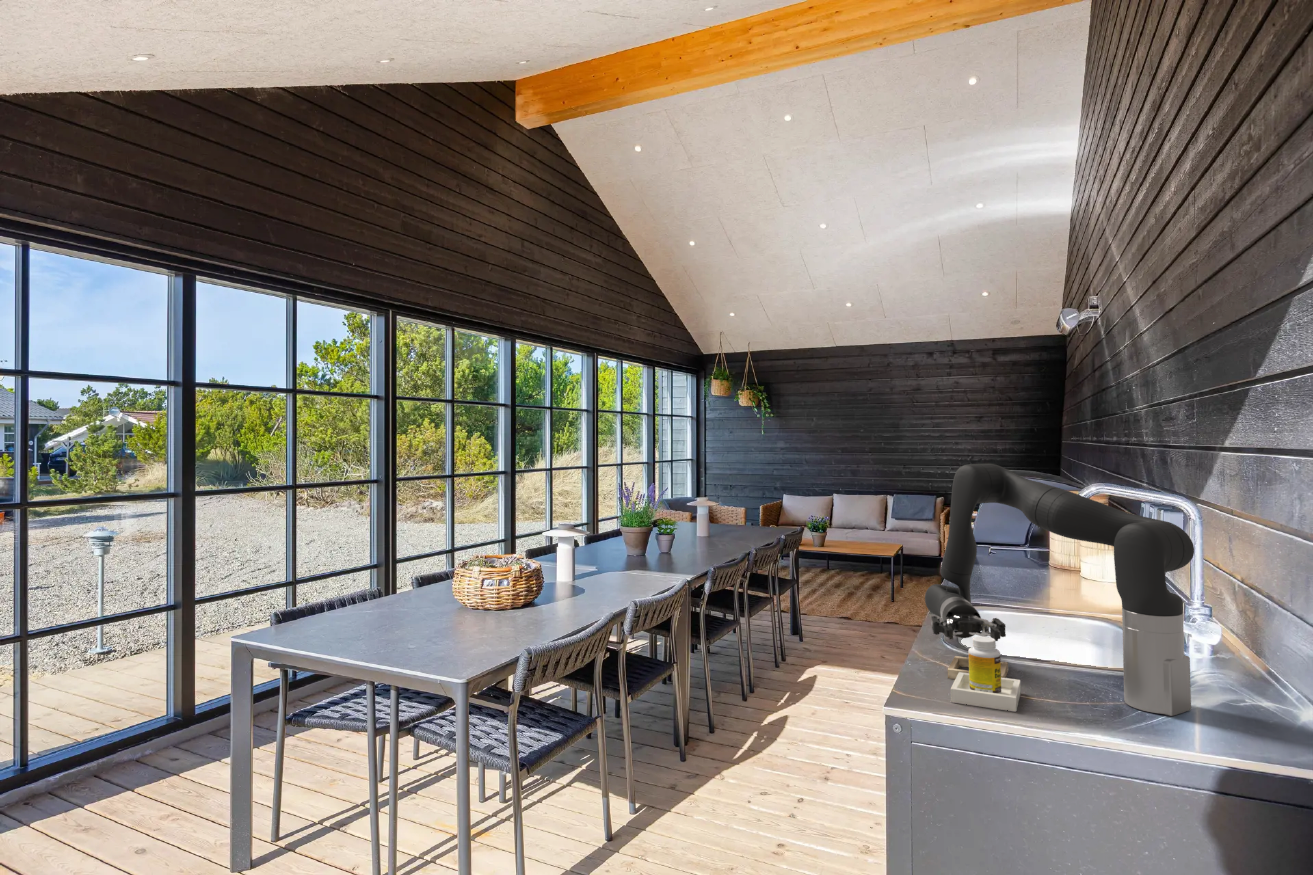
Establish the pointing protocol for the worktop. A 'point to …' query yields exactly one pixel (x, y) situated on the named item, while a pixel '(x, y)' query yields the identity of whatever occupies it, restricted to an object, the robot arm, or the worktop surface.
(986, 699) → the parts tray
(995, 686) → the supplement bottle
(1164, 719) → the worktop surface
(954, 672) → the square wooden frame
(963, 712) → the worktop surface
